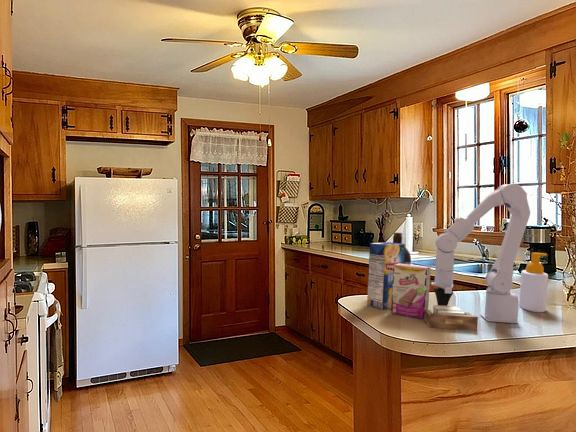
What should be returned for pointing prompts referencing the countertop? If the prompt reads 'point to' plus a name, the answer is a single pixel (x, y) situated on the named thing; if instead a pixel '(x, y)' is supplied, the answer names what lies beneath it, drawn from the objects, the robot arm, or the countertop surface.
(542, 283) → the soap bottle
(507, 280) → the robot arm
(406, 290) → the candy bar box
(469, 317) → the display stand
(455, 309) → the carton
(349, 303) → the countertop surface
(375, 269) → the beverage box
